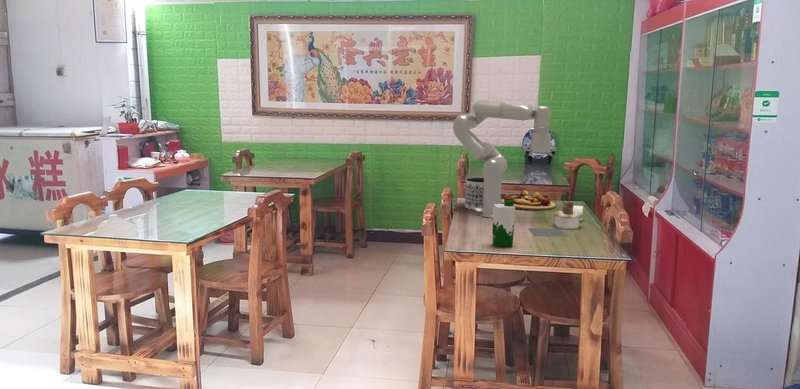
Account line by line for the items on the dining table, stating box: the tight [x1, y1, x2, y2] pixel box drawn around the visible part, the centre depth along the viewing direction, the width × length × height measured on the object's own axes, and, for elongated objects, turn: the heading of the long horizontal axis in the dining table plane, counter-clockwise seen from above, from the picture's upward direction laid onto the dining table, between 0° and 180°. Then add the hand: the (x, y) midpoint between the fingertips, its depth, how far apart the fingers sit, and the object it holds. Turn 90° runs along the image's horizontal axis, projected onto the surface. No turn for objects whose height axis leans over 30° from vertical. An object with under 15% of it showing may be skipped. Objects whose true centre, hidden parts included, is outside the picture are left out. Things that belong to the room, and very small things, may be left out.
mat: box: [527, 227, 569, 237], centre depth 304 cm, size 16×16×1 cm
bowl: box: [555, 216, 580, 230], centre depth 317 cm, size 11×11×6 cm
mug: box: [573, 205, 584, 222], centre depth 335 cm, size 12×10×8 cm
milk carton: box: [491, 200, 516, 248], centre depth 278 cm, size 9×9×20 cm
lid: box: [553, 200, 583, 218], centre depth 315 cm, size 14×14×7 cm
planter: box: [464, 177, 484, 211], centre depth 364 cm, size 18×18×16 cm
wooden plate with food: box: [501, 189, 556, 212], centre depth 373 cm, size 32×32×8 cm
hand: (539, 163), depth 327 cm, fingers open, 9 cm apart
